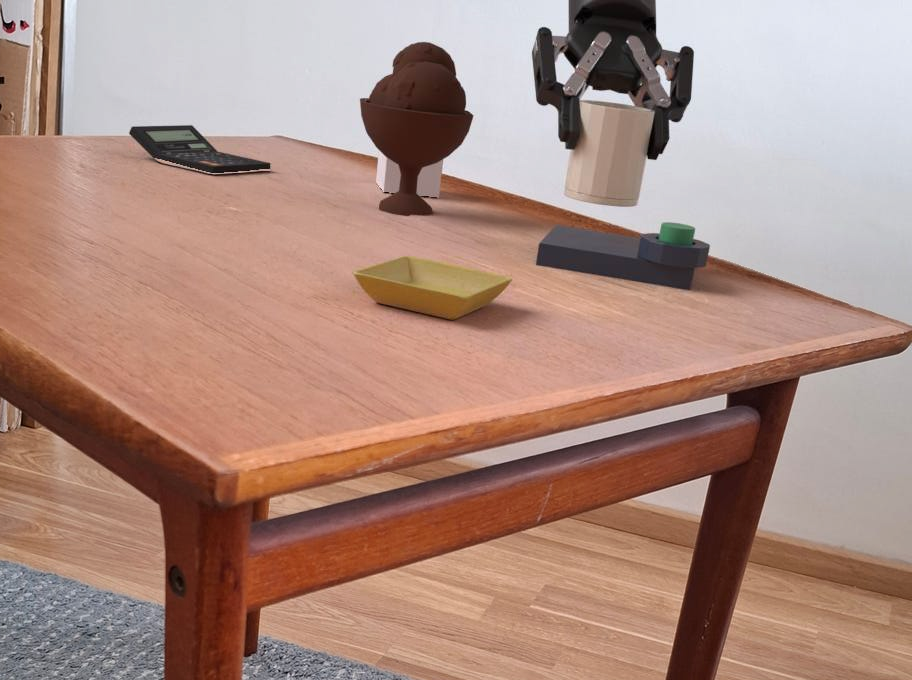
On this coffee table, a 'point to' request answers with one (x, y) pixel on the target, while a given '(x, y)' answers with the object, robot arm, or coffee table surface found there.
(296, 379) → the coffee table surface
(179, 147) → the calculator
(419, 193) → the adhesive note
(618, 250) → the scale
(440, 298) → the yellow shallow tray
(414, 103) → the ice cream bowl
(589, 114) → the faceted pencil cup
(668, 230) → the button
